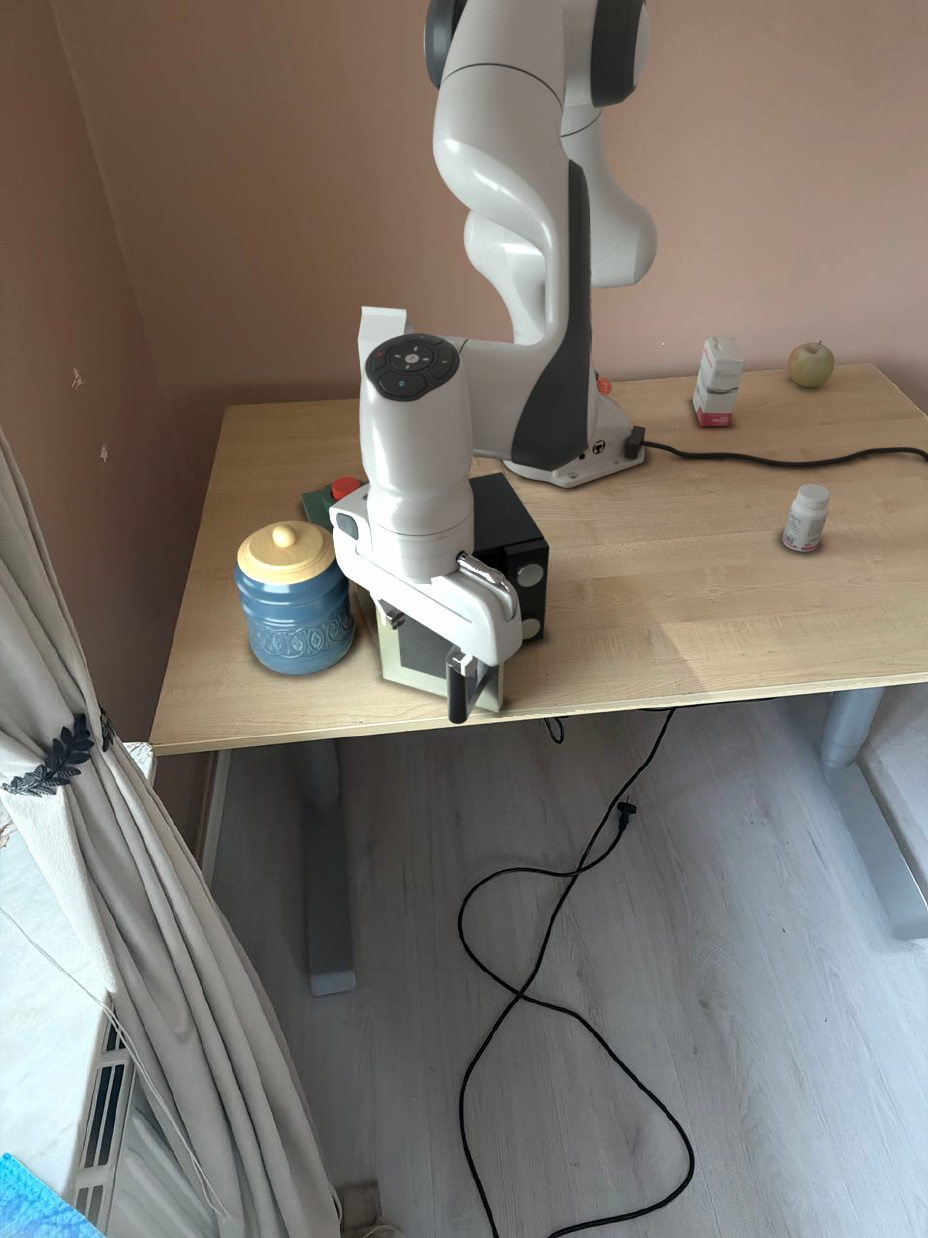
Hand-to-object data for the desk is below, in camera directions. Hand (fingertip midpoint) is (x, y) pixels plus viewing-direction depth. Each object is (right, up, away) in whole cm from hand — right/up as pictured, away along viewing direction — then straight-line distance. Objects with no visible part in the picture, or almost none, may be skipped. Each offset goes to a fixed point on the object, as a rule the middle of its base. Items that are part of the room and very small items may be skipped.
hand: (428, 646), depth 85 cm
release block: (-13, +18, +45) cm, 51 cm away
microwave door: (0, -8, +18) cm, 19 cm away
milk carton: (-9, +37, +66) cm, 76 cm away
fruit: (+64, +44, +73) cm, 106 cm away
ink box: (+45, +37, +65) cm, 87 cm away
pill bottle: (+50, +13, +39) cm, 65 cm away
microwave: (+1, +3, +29) cm, 29 cm away
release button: (-13, +21, +43) cm, 50 cm away
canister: (-17, 0, +26) cm, 31 cm away
